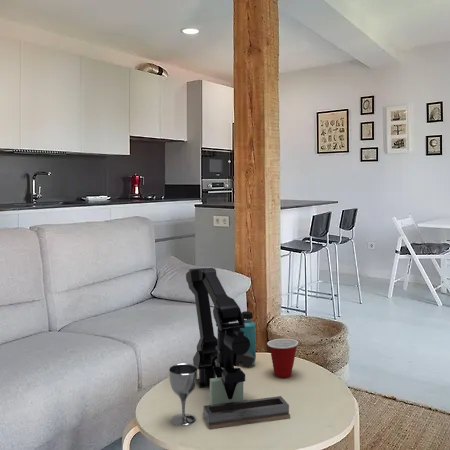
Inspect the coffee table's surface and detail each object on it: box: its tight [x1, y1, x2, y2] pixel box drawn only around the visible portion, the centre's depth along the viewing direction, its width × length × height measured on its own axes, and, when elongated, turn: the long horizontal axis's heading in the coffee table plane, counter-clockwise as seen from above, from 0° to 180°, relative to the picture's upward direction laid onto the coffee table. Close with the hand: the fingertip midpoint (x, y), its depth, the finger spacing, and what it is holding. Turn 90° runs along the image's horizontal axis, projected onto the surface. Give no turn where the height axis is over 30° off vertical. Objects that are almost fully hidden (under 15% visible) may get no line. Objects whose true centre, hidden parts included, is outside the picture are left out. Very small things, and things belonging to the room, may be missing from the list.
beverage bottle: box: [240, 310, 257, 364], centre depth 185 cm, size 6×7×20 cm
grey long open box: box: [202, 395, 291, 430], centre depth 146 cm, size 8×24×4 cm, turn 106°
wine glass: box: [168, 363, 198, 427], centre depth 144 cm, size 8×8×15 cm
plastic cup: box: [266, 338, 299, 379], centre depth 176 cm, size 11×11×12 cm
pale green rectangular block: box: [209, 377, 244, 405], centre depth 154 cm, size 2×10×8 cm, turn 106°
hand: (226, 393), depth 154 cm, fingers open, 7 cm apart
